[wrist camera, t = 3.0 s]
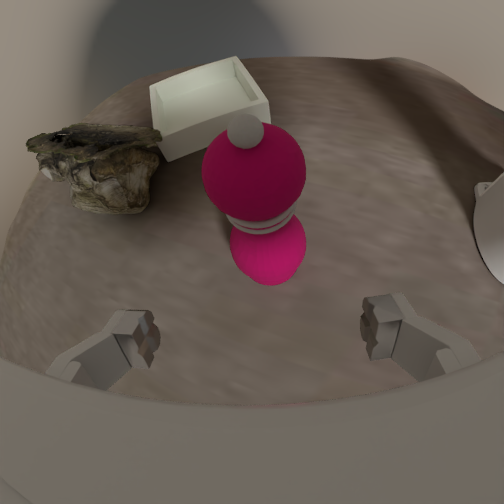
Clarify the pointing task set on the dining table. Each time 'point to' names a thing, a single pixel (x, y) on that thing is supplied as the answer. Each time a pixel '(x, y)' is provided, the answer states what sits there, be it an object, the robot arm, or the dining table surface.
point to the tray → (203, 105)
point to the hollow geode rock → (100, 165)
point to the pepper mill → (258, 196)
